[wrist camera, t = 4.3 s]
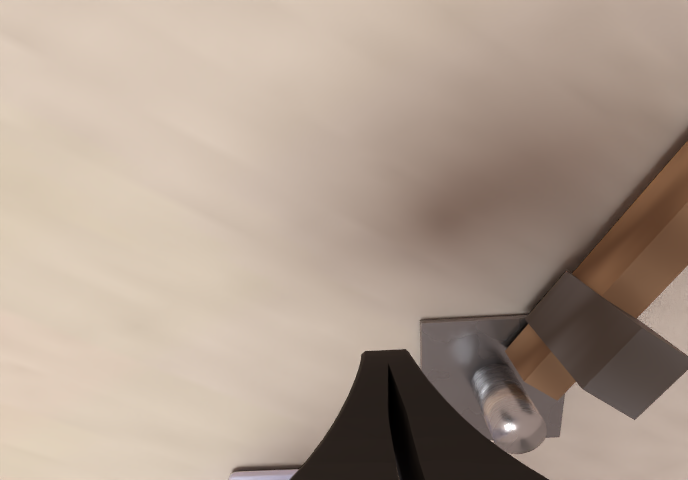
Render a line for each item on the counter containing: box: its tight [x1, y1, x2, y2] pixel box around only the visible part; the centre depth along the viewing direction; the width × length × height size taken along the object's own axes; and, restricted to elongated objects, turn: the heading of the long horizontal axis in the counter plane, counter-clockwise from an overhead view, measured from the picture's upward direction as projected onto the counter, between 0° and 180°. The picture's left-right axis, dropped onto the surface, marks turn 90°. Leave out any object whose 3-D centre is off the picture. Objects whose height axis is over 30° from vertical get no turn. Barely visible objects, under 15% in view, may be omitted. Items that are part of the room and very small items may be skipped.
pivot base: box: [420, 315, 565, 454], centre depth 18 cm, size 7×7×4 cm
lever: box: [505, 141, 688, 420], centre depth 15 cm, size 14×4×5 cm, turn 148°
